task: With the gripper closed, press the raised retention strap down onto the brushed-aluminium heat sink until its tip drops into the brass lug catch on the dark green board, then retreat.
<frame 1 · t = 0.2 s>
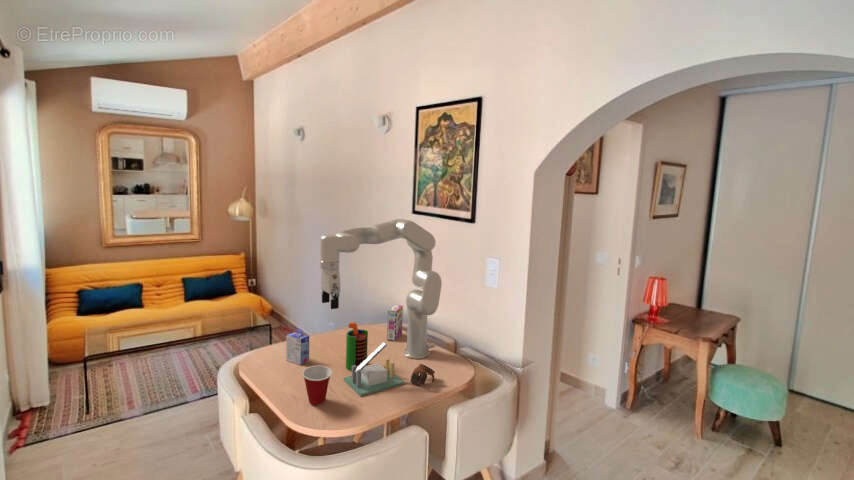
hand: (330, 305, 177), 31 cm above the table, fingers open, 9 cm apart
motor: (356, 367, 191), on the table
ink cartridge box: (298, 361, 195), on the table
board: (373, 381, 177), on the table
strap: (370, 357, 175), point 11 cm above the table, hinge at 35.0°
plastic cup: (317, 402, 160), on the table
candy bar box: (394, 337, 228), on the table
pottery mug: (422, 383, 178), on the table
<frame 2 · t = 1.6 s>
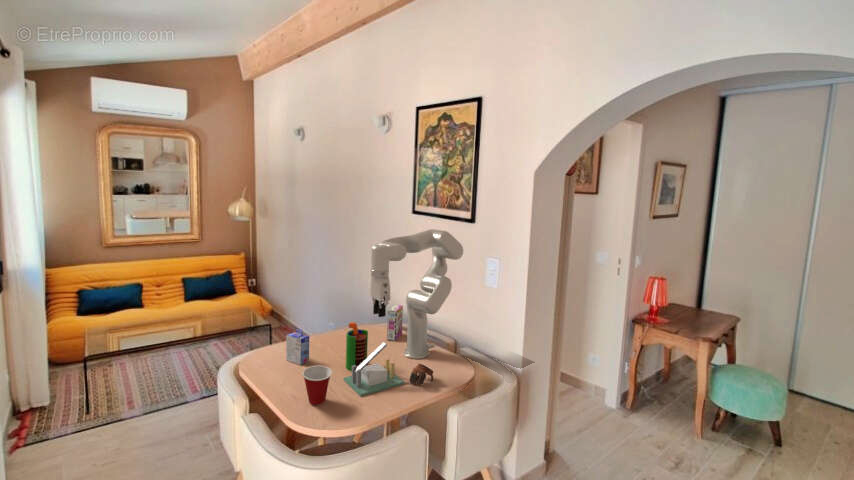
hand: (379, 314, 185), 25 cm above the table, fingers open, 3 cm apart
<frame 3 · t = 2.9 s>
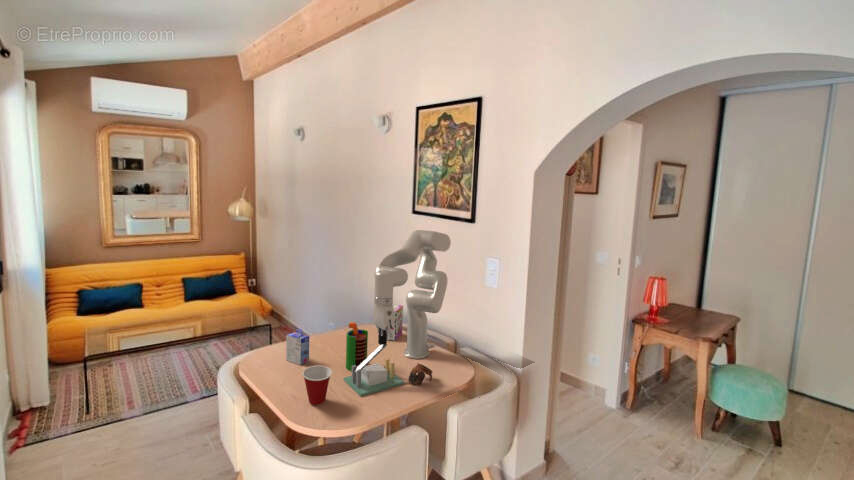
hand: (382, 343, 177), 16 cm above the table, fingers closed
strap: (370, 357, 175), point 11 cm above the table, hinge at 35.0°, touching gripper
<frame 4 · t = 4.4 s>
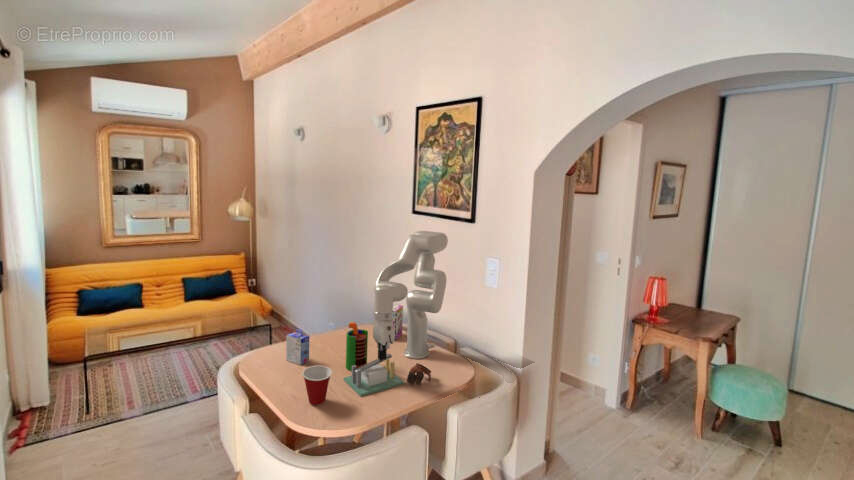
hand: (382, 358, 177), 10 cm above the table, fingers closed
strap: (373, 363, 176), point 8 cm above the table, hinge at 12.6°, touching gripper
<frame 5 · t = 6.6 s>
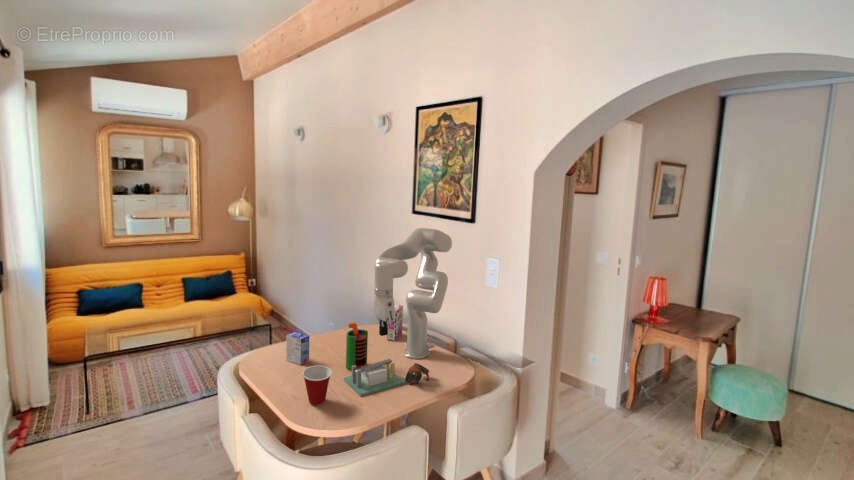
hand: (383, 334, 178), 19 cm above the table, fingers closed
strap: (373, 366, 176), point 7 cm above the table, hinge at 3.6°
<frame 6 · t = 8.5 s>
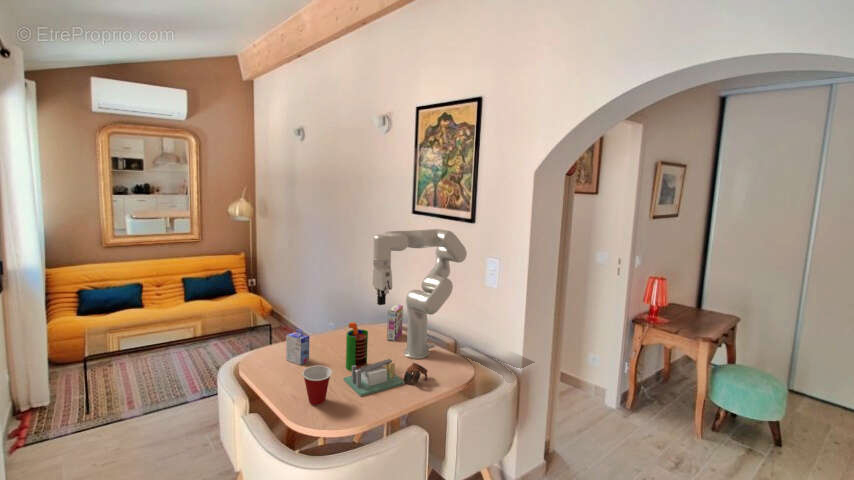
hand: (381, 304, 187), 29 cm above the table, fingers closed
at the end: strap at +4° (first picture: +35°); strap touching nothing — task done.
